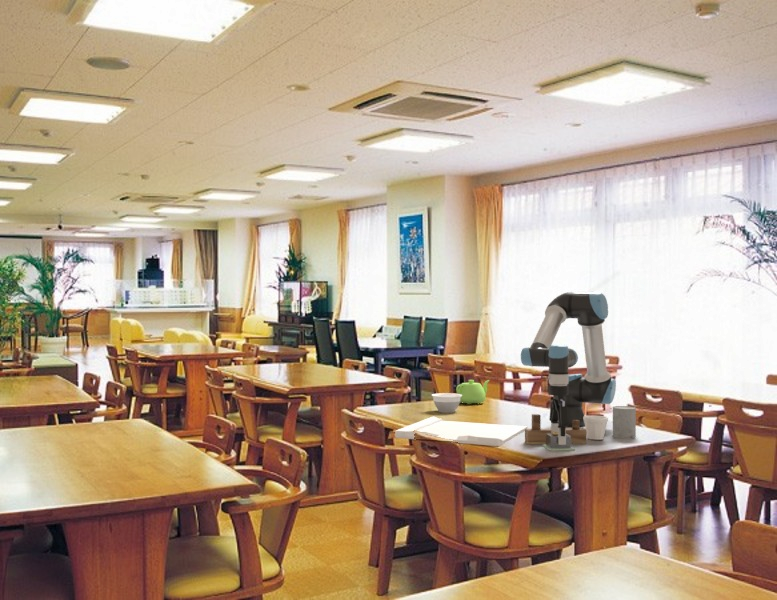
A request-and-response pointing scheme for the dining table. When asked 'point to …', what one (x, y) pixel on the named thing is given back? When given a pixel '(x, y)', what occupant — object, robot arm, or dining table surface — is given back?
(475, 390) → the teapot
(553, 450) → the mat
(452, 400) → the bowl
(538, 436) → the body
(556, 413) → the robot arm
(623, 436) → the grey cylindrical container
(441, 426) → the white flat slab
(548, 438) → the lever cap
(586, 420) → the cup
